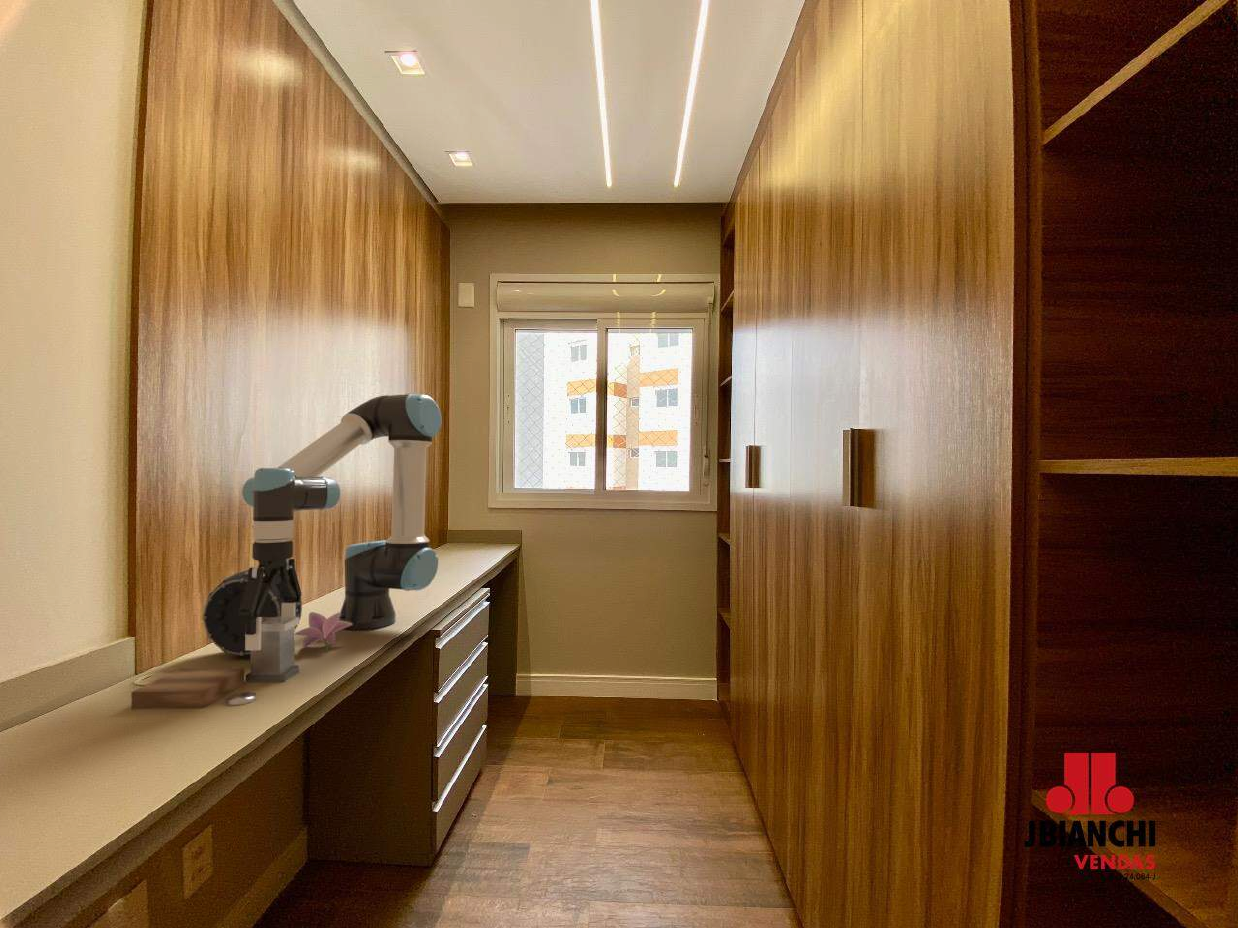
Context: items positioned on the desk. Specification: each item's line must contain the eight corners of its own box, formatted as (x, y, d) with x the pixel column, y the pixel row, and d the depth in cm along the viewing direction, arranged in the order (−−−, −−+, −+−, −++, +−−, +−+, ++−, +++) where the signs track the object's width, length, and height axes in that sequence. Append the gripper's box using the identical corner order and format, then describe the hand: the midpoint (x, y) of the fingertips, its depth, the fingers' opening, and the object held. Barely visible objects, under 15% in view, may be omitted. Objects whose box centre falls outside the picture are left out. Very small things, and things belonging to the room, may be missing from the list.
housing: (261, 672, 133) (261, 617, 133) (299, 672, 133) (299, 616, 133) (245, 682, 127) (245, 624, 127) (284, 681, 127) (284, 624, 127)
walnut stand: (180, 683, 126) (180, 668, 126) (244, 682, 127) (244, 668, 127) (131, 708, 113) (131, 692, 113) (202, 707, 114) (202, 691, 114)
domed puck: (235, 697, 120) (235, 692, 120) (261, 697, 120) (262, 692, 120) (219, 707, 115) (220, 702, 115) (247, 707, 115) (247, 701, 115)
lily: (360, 647, 155) (351, 611, 158) (345, 641, 144) (336, 603, 147) (311, 665, 152) (303, 628, 155) (292, 660, 141) (284, 621, 145)
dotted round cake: (285, 660, 141) (285, 573, 141) (196, 661, 140) (196, 574, 140) (307, 646, 151) (307, 566, 152) (225, 647, 151) (225, 566, 151)
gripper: (285, 534, 143) (284, 625, 142) (218, 547, 118) (216, 658, 117) (318, 534, 143) (317, 626, 142) (257, 547, 118) (256, 658, 117)
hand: (271, 640), depth 130 cm, fingers open, 13 cm apart
